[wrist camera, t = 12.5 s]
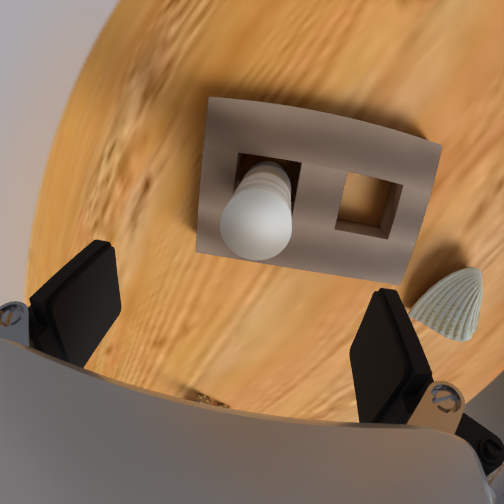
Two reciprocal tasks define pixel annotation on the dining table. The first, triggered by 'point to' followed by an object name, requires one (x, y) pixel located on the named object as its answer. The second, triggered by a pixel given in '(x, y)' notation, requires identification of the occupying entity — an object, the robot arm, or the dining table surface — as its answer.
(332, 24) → the dining table surface
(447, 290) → the seashell
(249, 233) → the grey domed cylinder
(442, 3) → the dining table surface
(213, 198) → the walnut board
